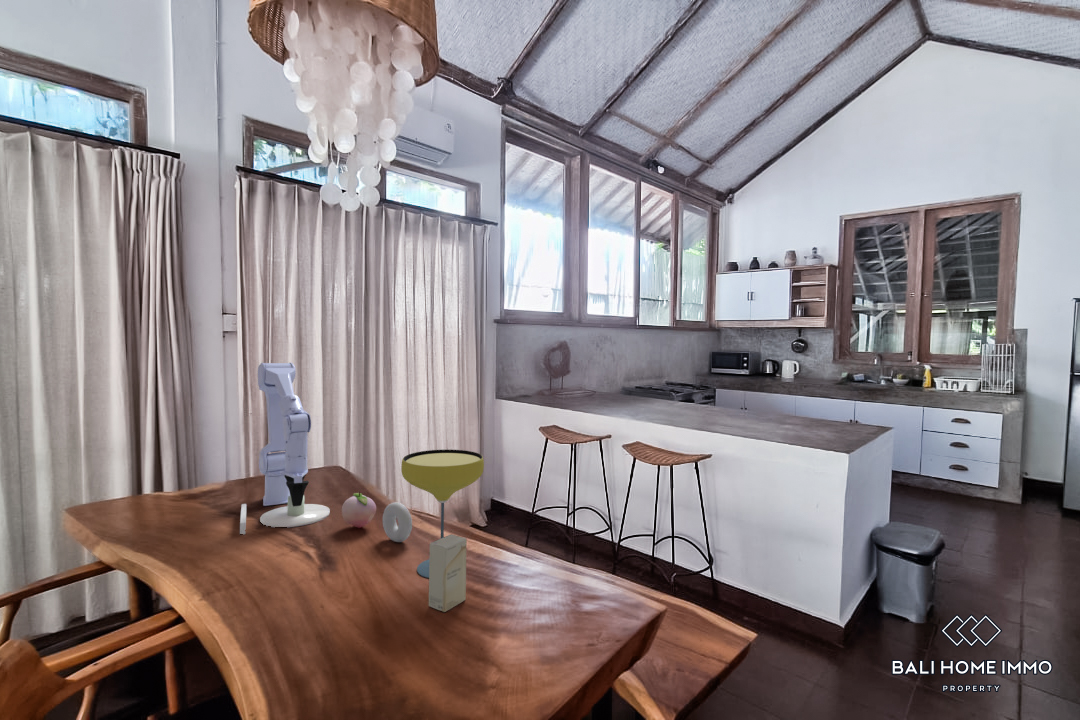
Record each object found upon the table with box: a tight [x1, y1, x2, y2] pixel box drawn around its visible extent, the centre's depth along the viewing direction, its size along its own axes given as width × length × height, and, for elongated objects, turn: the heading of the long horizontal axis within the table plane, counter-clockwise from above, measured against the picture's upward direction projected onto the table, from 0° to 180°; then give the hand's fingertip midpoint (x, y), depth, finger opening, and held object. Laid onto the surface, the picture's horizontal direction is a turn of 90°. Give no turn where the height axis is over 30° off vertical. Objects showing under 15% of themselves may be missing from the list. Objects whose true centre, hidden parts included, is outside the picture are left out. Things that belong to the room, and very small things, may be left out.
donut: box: [382, 501, 413, 543], centre depth 124 cm, size 10×3×10 cm, turn 53°
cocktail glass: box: [400, 449, 485, 579], centre depth 109 cm, size 18×18×25 cm
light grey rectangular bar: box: [239, 503, 247, 535], centre depth 134 cm, size 18×1×3 cm, turn 30°
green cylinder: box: [286, 494, 305, 516], centre depth 141 cm, size 4×4×5 cm
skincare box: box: [428, 533, 468, 613], centre depth 94 cm, size 6×4×12 cm
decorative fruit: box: [341, 491, 377, 529], centre depth 132 cm, size 9×8×10 cm
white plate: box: [259, 503, 331, 528], centre depth 141 cm, size 18×18×1 cm
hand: (296, 502), depth 141 cm, fingers open, 7 cm apart
